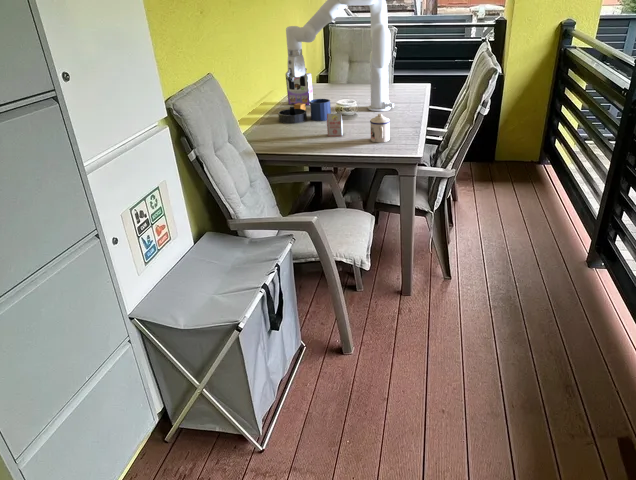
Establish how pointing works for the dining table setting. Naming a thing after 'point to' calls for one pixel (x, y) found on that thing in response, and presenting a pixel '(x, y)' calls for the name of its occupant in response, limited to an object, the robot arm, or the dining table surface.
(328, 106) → the pot
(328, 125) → the white printed carton
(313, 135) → the dining table surface
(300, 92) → the candy box
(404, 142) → the dining table surface
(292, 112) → the lid
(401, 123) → the dining table surface
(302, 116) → the pan
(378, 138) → the teacup with lid
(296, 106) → the block
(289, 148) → the dining table surface
